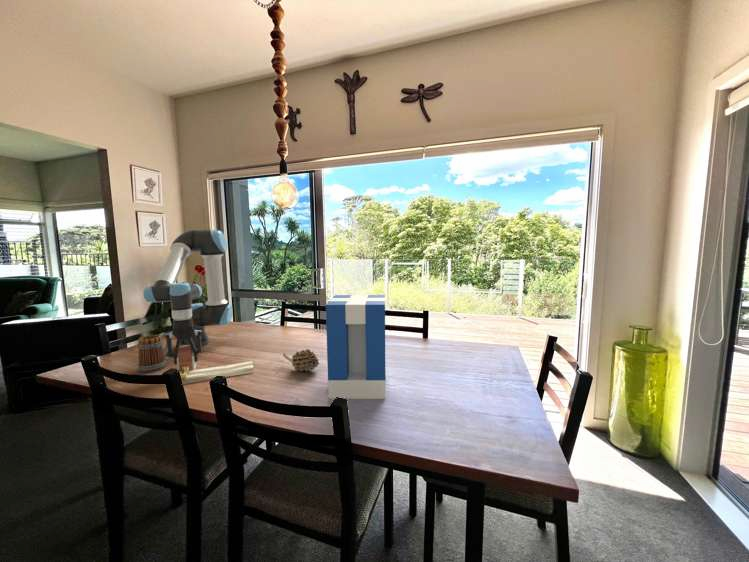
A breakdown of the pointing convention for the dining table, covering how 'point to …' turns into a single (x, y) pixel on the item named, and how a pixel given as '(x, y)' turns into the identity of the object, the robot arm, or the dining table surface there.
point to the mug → (152, 353)
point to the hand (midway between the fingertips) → (186, 369)
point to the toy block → (356, 346)
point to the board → (218, 372)
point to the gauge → (185, 360)
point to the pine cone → (303, 360)
